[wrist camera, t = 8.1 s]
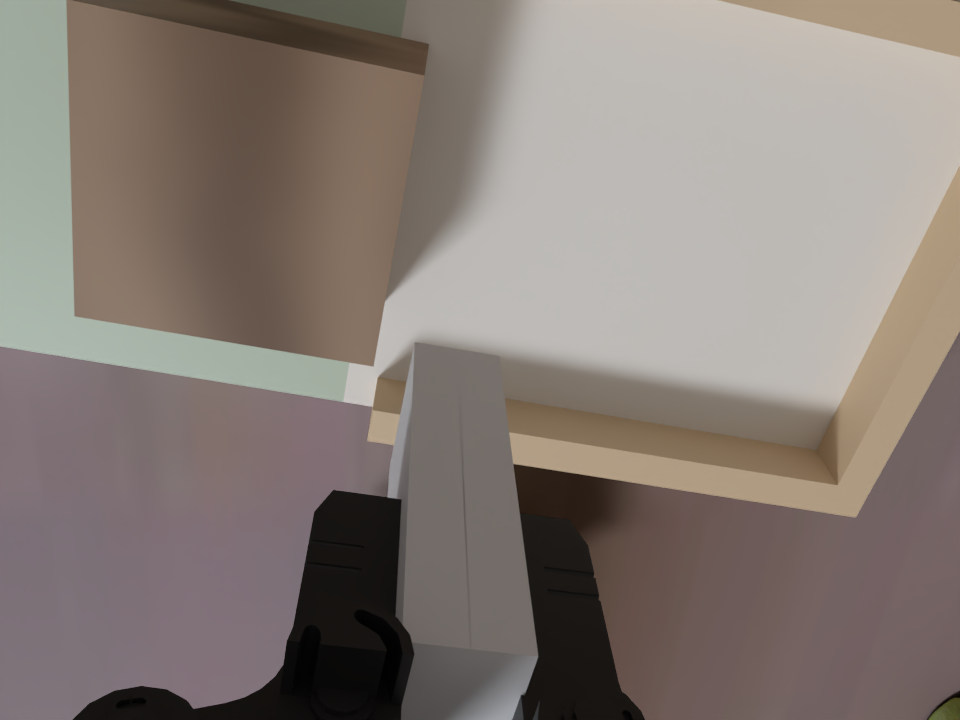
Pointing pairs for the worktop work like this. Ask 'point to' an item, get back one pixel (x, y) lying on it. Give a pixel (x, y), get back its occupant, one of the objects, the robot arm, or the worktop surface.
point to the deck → (608, 231)
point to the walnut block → (237, 171)
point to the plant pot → (948, 711)
